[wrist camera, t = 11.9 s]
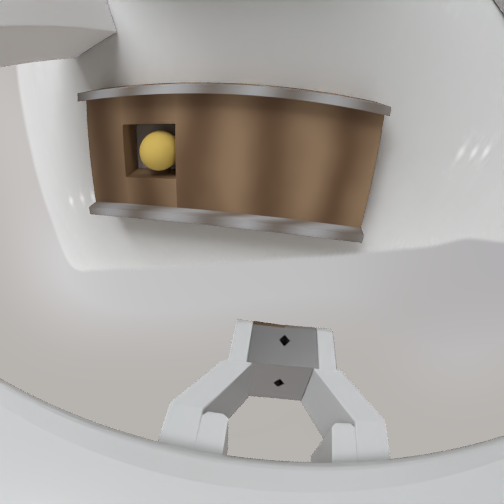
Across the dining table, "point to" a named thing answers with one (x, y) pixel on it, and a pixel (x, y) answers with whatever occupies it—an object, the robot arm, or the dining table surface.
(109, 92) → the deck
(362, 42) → the dining table surface
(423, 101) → the dining table surface
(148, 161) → the ball
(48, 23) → the milk
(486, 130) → the dining table surface
